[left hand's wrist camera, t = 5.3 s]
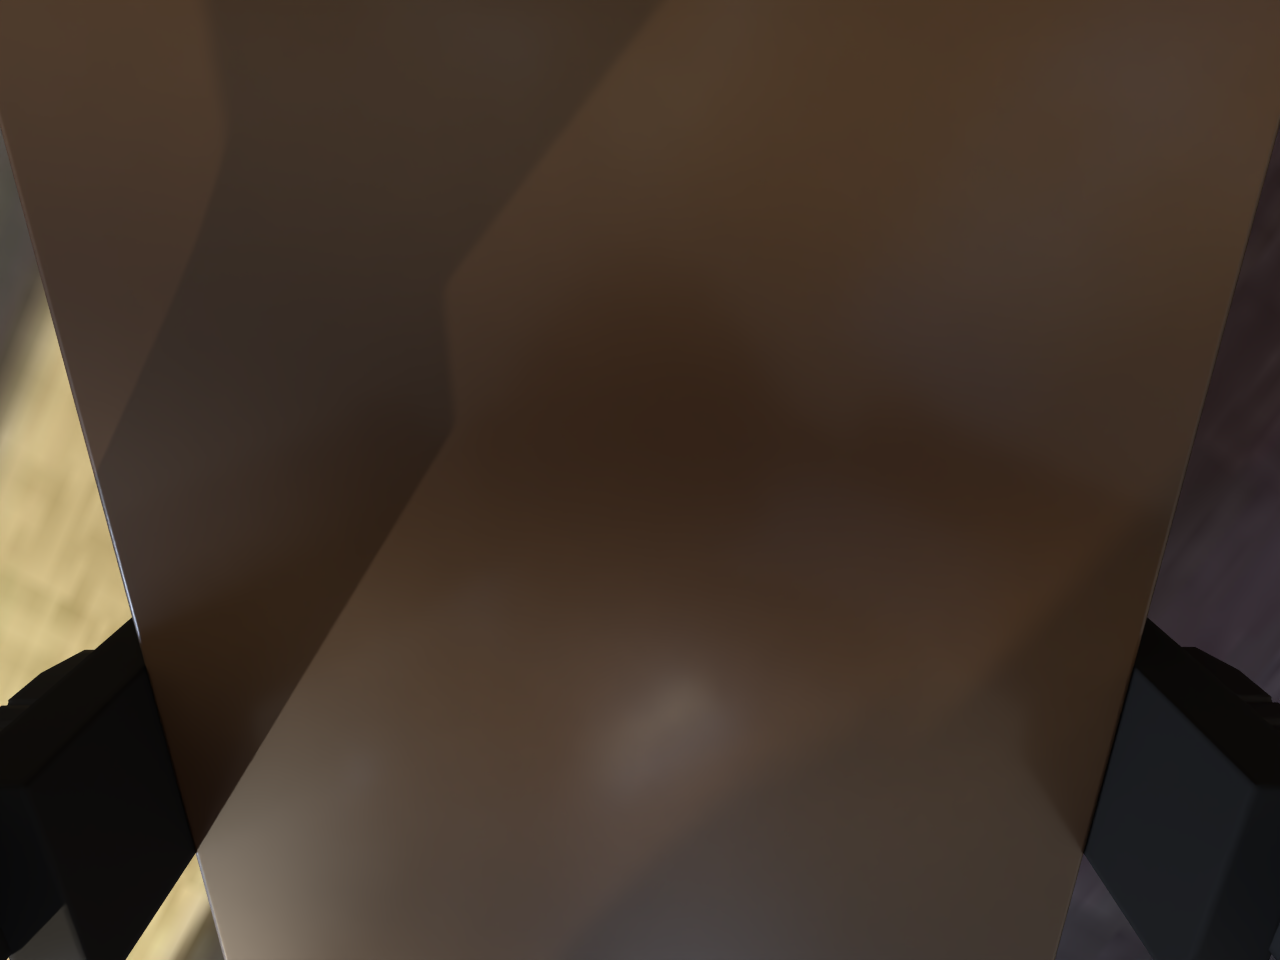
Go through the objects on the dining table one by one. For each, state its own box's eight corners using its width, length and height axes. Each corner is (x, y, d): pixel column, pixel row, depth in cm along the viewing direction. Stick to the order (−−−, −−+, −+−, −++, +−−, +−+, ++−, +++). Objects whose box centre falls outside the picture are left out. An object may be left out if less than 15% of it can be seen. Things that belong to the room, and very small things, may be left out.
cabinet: (284, -315, 12) (-370, -1221, 4) (995, -314, 12) (1652, -1227, 4) (407, 658, 18) (235, 1010, 10) (872, 658, 18) (1043, 1012, 10)
